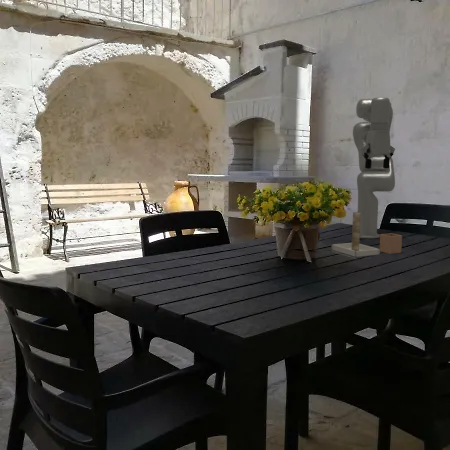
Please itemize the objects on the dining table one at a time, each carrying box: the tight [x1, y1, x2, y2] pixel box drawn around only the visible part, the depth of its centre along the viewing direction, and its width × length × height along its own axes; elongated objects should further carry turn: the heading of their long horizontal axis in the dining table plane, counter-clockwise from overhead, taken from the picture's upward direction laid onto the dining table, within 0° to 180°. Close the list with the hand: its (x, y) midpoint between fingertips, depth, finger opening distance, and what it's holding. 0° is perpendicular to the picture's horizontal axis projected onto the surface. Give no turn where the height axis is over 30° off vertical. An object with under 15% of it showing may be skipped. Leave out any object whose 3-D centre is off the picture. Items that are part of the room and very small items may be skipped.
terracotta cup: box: [379, 233, 403, 255], centre depth 211 cm, size 6×6×8 cm
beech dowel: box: [351, 211, 361, 251], centre depth 210 cm, size 3×3×16 cm
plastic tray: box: [331, 242, 381, 260], centre depth 211 cm, size 16×12×3 cm
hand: (377, 168), depth 221 cm, fingers open, 9 cm apart
